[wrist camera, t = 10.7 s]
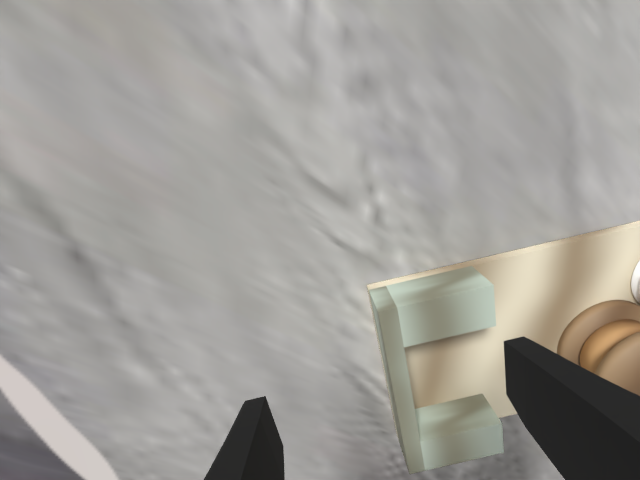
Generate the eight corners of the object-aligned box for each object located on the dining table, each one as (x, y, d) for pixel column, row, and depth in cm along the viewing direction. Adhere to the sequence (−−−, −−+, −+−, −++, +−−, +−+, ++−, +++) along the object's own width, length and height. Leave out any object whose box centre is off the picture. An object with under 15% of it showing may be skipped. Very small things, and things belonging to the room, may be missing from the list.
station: (737, 198, 21) (840, 218, 17) (705, 362, 25) (782, 409, 21) (366, 285, 21) (383, 325, 17) (396, 433, 25) (415, 493, 21)
